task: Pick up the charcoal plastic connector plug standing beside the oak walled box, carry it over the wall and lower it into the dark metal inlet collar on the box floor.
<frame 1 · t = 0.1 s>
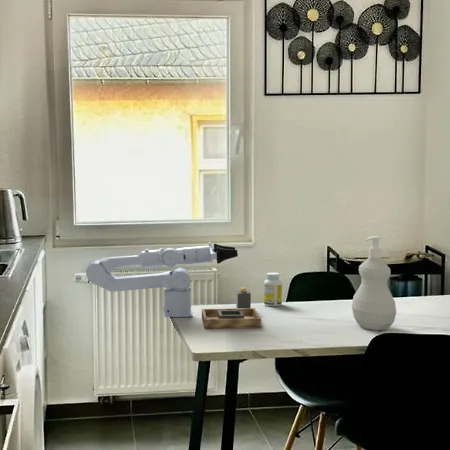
hand: (236, 251, 270), 22 cm above the table, tool horizontal, fingers open, 7 cm apart
connector plug: (243, 312, 275), on the table
pill bottle: (272, 305, 287), on the table
walled box: (230, 322, 259), on the table
soap bottle: (373, 328, 253), on the table
inlet collar: (230, 316, 259), in the walled box, point 2 cm above the table
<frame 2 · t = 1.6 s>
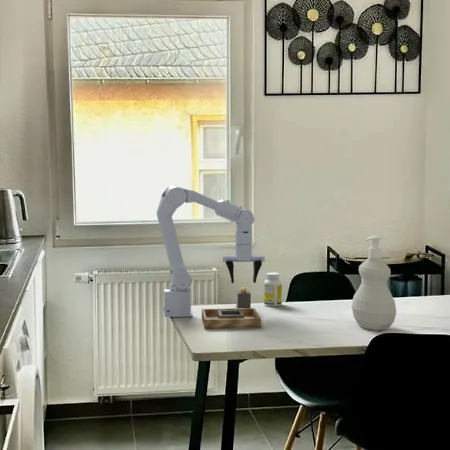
hand: (243, 282, 274), 10 cm above the table, tool pointing down, fingers open, 7 cm apart
nothing on the table moved.
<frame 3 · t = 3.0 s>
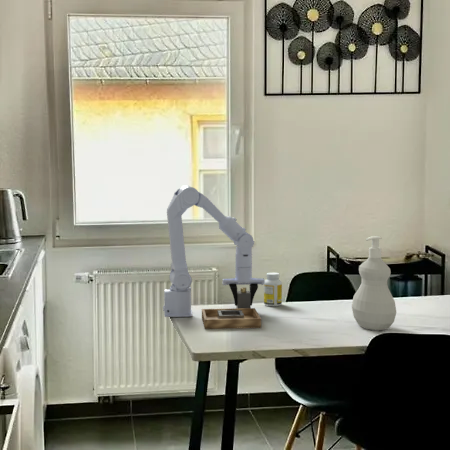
hand: (243, 305, 275), 2 cm above the table, tool pointing down, fingers closed on connector plug, 4 cm apart
connector plug: (243, 311, 275), on the table, touching gripper
everything else where it was.
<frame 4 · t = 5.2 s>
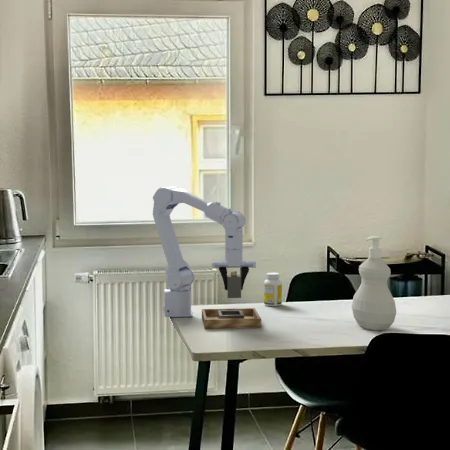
hand: (233, 289, 261), 10 cm above the table, tool pointing down, fingers closed on connector plug, 4 cm apart
connector plug: (233, 296, 262), point 8 cm above the table, touching gripper
everything else where it was.
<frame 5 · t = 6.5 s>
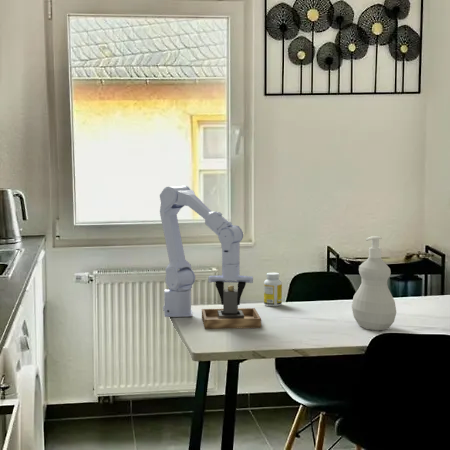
hand: (230, 304, 258), 6 cm above the table, tool pointing down, fingers closed on connector plug, 4 cm apart
connector plug: (230, 311, 259), point 4 cm above the table, touching gripper
everything else where it was.
when the fingers open (4 cm above the table, at t = 7.4 s): connector plug drops 1 cm, resting on walled box.
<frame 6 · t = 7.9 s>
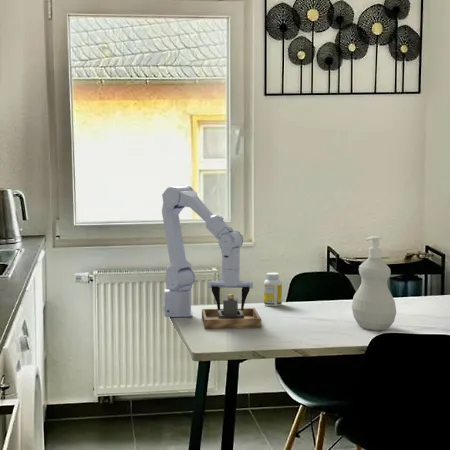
hand: (230, 309, 259), 4 cm above the table, tool pointing down, fingers open, 7 cm apart
connector plug: (230, 320, 259), point 1 cm above the table, touching walled box
everything else where it was.
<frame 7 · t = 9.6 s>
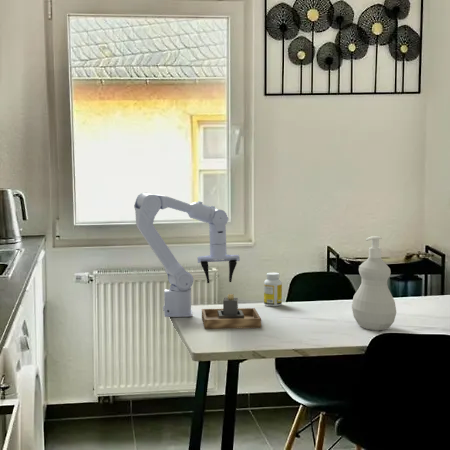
hand: (219, 282, 275), 10 cm above the table, tool pointing down, fingers open, 7 cm apart
nothing on the table moved.
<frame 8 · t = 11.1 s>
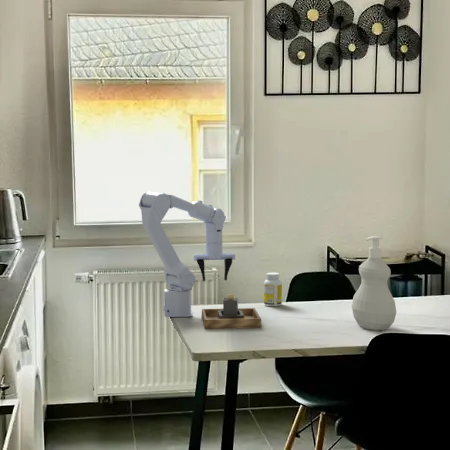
hand: (214, 280, 279), 10 cm above the table, tool pointing down, fingers open, 7 cm apart
nothing on the table moved.
at the end: connector plug 0.2 cm off-centre on the walled box, point 0.8 cm above the walled box's base; connector plug tilted 0°; the gripper is holding nothing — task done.
